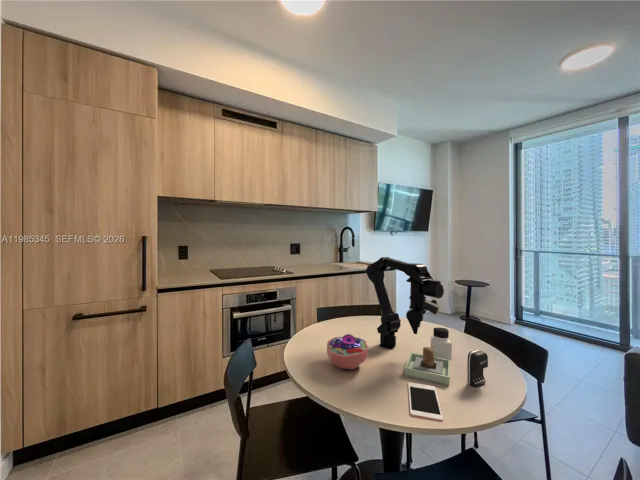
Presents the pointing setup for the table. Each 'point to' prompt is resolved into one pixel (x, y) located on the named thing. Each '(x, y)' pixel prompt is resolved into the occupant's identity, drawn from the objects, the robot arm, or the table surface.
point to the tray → (427, 374)
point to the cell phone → (424, 402)
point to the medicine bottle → (441, 343)
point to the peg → (428, 357)
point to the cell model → (347, 351)
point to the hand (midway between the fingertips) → (416, 330)
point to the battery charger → (476, 367)
